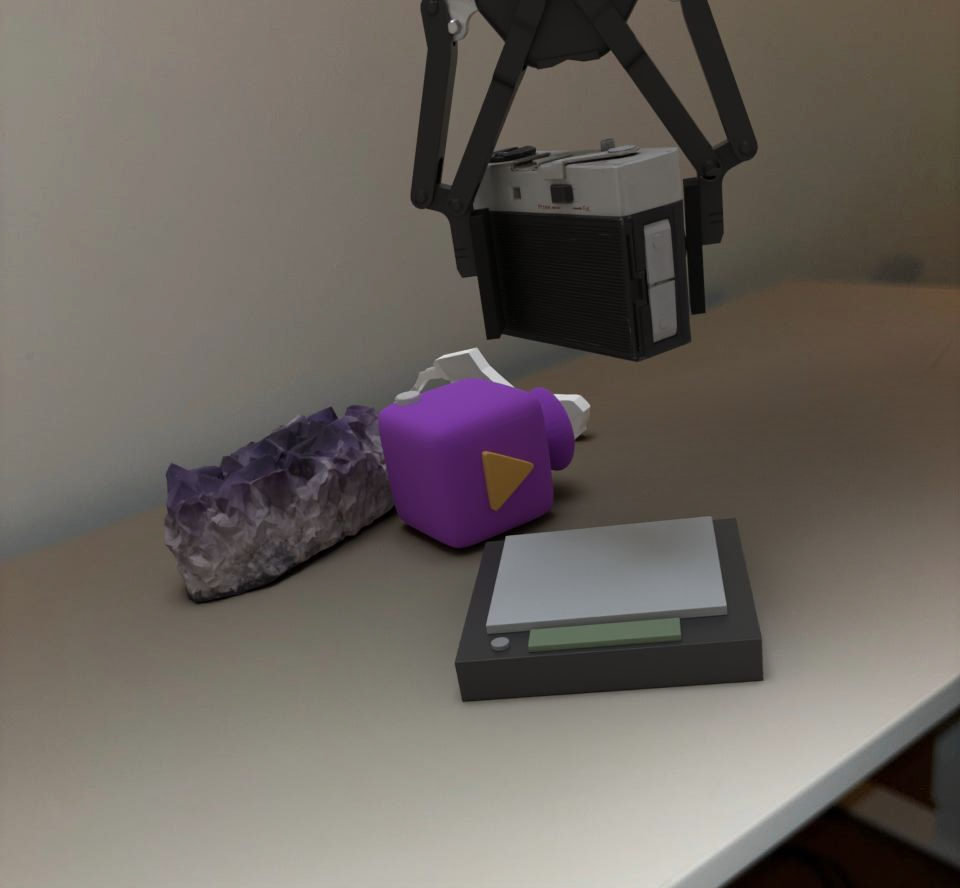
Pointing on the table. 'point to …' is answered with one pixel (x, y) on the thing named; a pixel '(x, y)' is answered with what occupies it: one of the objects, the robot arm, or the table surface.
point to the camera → (590, 247)
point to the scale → (610, 611)
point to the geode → (276, 501)
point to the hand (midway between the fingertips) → (595, 320)
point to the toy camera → (474, 457)
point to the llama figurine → (477, 367)
